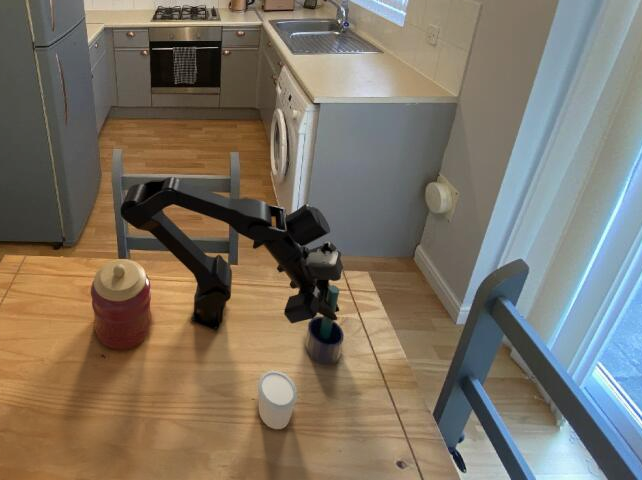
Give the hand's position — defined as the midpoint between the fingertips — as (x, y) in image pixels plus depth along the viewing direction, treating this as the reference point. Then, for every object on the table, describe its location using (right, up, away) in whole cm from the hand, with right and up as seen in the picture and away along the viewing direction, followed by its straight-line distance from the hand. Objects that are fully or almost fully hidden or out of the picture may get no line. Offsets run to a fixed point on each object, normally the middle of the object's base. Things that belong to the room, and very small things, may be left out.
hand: (336, 315), depth 85 cm
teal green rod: (-1, -6, +3) cm, 7 cm away
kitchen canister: (-44, -8, +11) cm, 46 cm away
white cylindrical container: (-14, -15, -6) cm, 22 cm away
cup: (-1, -10, +5) cm, 11 cm away
